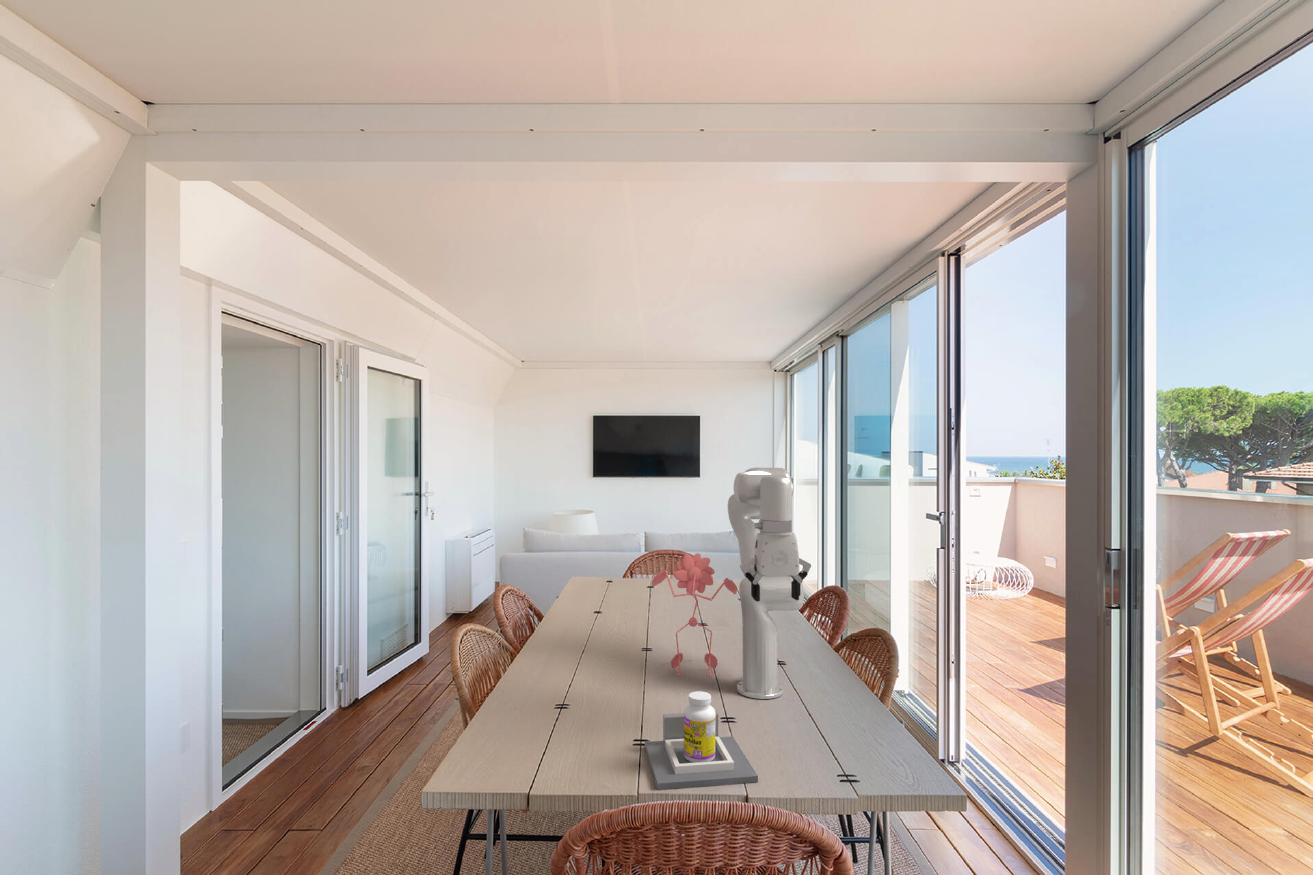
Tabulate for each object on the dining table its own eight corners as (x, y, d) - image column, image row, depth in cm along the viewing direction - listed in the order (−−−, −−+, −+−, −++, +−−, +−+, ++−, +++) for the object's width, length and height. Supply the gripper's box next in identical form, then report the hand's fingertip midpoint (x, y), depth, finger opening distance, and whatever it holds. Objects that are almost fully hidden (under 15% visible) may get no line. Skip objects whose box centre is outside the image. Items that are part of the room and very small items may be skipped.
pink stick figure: (739, 677, 183) (738, 556, 185) (650, 676, 183) (651, 556, 185) (734, 661, 198) (733, 550, 200) (652, 661, 198) (652, 549, 201)
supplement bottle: (676, 757, 131) (677, 694, 131) (698, 747, 135) (698, 686, 136) (700, 768, 126) (700, 703, 126) (722, 757, 131) (722, 695, 131)
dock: (644, 747, 138) (645, 714, 138) (732, 741, 141) (732, 709, 141) (657, 789, 120) (657, 751, 120) (757, 782, 123) (757, 744, 123)
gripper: (745, 529, 144) (745, 604, 144) (816, 528, 147) (816, 602, 146) (736, 526, 152) (736, 597, 151) (804, 525, 155) (804, 595, 154)
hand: (775, 599), depth 149 cm, fingers open, 9 cm apart
